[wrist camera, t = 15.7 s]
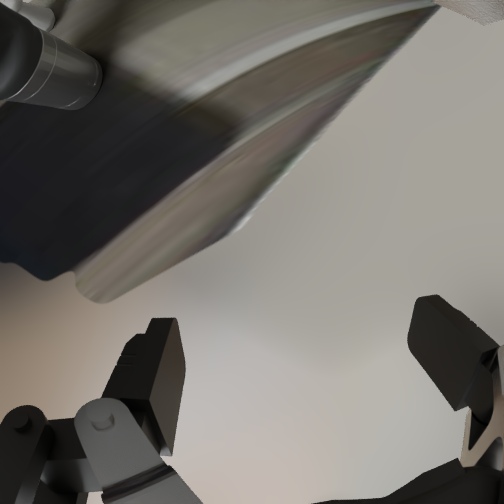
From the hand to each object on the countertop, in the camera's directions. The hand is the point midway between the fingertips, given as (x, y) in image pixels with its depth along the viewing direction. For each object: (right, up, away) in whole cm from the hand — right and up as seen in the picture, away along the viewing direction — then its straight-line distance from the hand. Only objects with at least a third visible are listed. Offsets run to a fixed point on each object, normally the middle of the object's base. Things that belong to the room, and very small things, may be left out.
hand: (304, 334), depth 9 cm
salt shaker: (-37, +42, +22) cm, 60 cm away
